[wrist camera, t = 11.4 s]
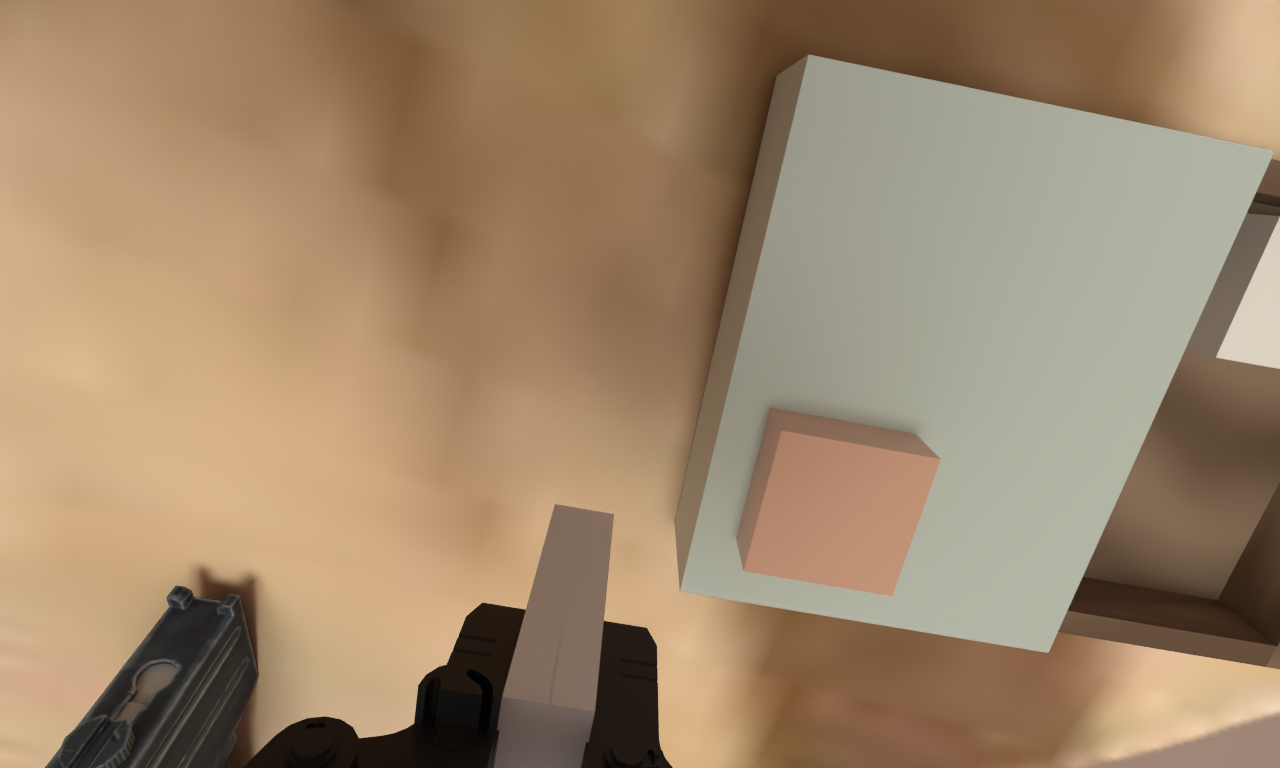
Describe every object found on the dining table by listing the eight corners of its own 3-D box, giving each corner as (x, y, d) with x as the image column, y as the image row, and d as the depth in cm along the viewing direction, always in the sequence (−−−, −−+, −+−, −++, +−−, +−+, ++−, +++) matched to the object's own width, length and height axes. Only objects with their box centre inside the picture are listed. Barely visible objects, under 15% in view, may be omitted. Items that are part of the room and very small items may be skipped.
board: (776, 75, 24) (808, 54, 19) (1153, 152, 25) (1274, 150, 20) (674, 522, 30) (680, 591, 25) (985, 575, 30) (1048, 652, 25)
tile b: (770, 407, 23) (781, 430, 21) (916, 434, 23) (940, 459, 21) (735, 538, 24) (743, 571, 22) (872, 562, 24) (892, 596, 22)
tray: (1153, 152, 25) (1233, 151, 21) (1436, 210, 25) (1556, 217, 22) (985, 575, 30) (1026, 626, 27) (1219, 615, 31) (1288, 670, 27)
